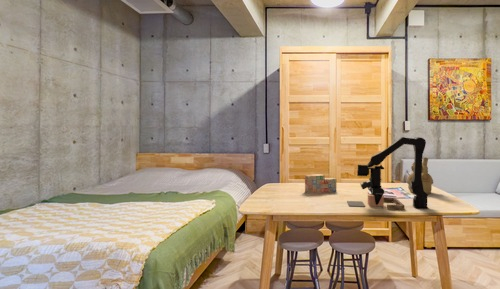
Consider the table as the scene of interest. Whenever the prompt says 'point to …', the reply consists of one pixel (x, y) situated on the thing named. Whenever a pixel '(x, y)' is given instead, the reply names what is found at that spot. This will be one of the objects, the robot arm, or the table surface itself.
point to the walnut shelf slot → (394, 207)
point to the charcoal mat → (355, 204)
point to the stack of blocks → (319, 184)
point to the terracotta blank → (372, 200)
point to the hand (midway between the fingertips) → (375, 202)
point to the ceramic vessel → (425, 177)
